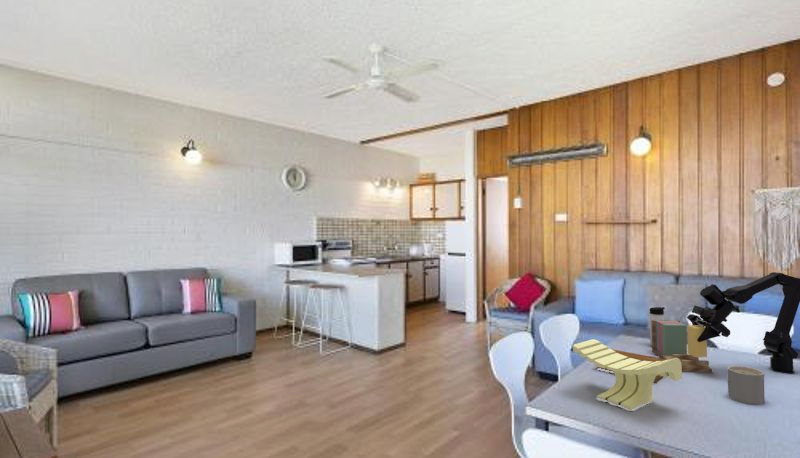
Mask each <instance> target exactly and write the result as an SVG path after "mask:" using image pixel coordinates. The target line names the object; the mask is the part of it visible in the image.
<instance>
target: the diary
mask: <svg viewBox="0 0 800 458" xmlns="http://www.w3.org/2000/svg"><path fill="white" fill-rule="evenodd" d="M612 350H614V351H616V353H619V354H621V355H624V356H627V357H628V359H629V358H633V359H637V360H641V361H652V362H656V361H664V360H668V359H662V358H660V357H658V356H657V357H655V356H650V355H645V354H640V353H633V352H629V351H622V350H617V349H612ZM597 368H601V367H598V366H597ZM601 369H605V370H608V369H607V368H601ZM609 371H612V370H609ZM663 378H664V377H663V376H660V375H657V376H656V377H655V379H654V382H653V384H658V383H659V381H661V380H662V379H663Z"/></svg>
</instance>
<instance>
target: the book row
mask: <svg viewBox="0 0 800 458" xmlns="http://www.w3.org/2000/svg"><path fill="white" fill-rule="evenodd" d="M656 341H657V350H658V351H659V352H661V353H662V354H664V355H665V356H672V354H684V355H687V354H688V335H687V325H686V324H685V323H684V324H683V323H682V322H681V321H680V322H678V321H656Z"/></svg>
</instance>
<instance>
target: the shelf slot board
mask: <svg viewBox="0 0 800 458" xmlns="http://www.w3.org/2000/svg"><path fill="white" fill-rule="evenodd" d="M656 321H678V322H680V323H681V321H680V320H678V319H677V320H676V319H675V320H673V319H672V320H671V319H664V320H651V328H652V347H651V353H653V354H654V355H656V356H657V357H658V356H659V357H658V358H662V359H668V360H671V359H673V358H679V359H680V361H681V365H682V373H711V374H712V373H713V368H711V367H710V361H709V360H702V359H701V360H699V358H700V357H694V356H692V355H690V354H688V353H687V355H684V354H672V356H665V355H664V354H662V353H661V352H659V351H658V350H657V341H656Z"/></svg>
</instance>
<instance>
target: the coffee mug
mask: <svg viewBox="0 0 800 458" xmlns="http://www.w3.org/2000/svg"><path fill="white" fill-rule="evenodd" d="M727 393H728V394H727V396H728V398H730V399H732V400H734V401H736V402H740V403H742V404H749V405H763V404H765V399H766V398H765V373H764V371H763V370H761V369H758V368H755V367H751V366H745V365H729V366H728V367H727Z"/></svg>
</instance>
